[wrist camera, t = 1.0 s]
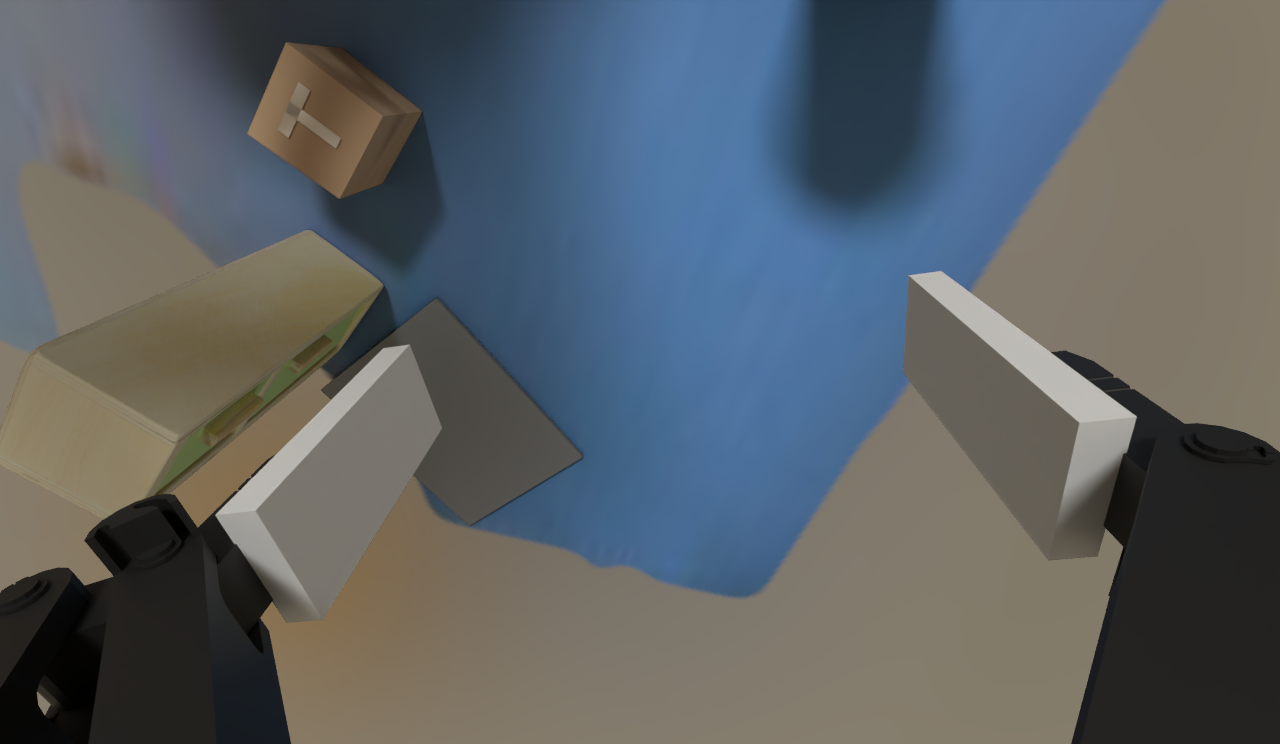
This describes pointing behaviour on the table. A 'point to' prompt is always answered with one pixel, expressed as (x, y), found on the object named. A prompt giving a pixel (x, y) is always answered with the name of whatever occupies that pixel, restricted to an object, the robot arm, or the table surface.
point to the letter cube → (333, 118)
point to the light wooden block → (179, 373)
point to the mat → (473, 418)
